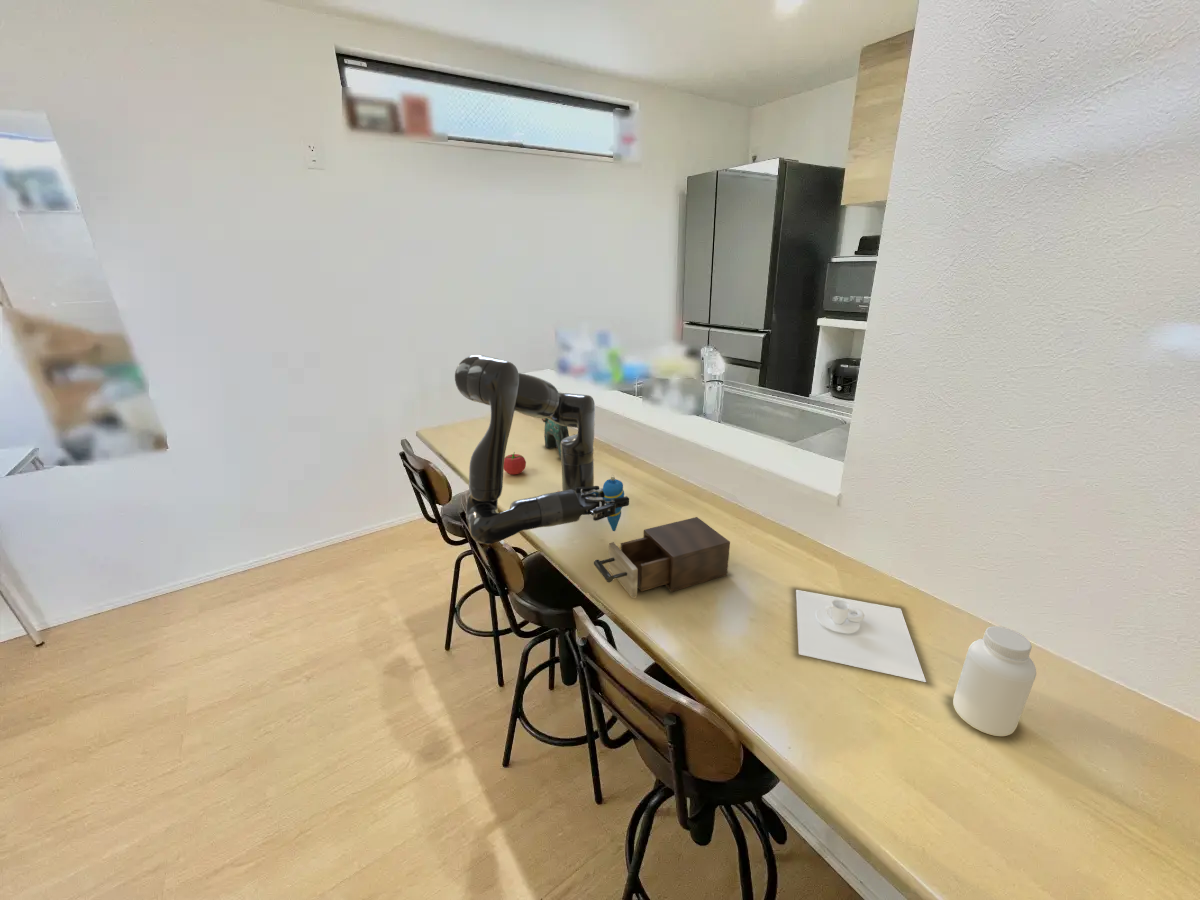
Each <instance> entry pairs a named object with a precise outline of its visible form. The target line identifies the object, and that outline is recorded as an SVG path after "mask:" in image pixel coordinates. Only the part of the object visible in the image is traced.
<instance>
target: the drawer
mask: <svg viewBox="0 0 1200 900" xmlns="http://www.w3.org/2000/svg"><path fill="white" fill-rule="evenodd" d="M604 564H608V569H607V568H606V566H604ZM593 565H594V567H595V568H596V569H597V571H598V572H599V573H600V574H601V576H602V577H603V578H604V580H605V581H606V582H607V583H612V582H613V580H615V579H616V580H617V581H618V583H619V584H620V585H621V586H622V587H623V588H624V590H625V591H626V592H627V594H628V595H629V596H630V597H631V598H632V599H634V598H637V597H638V590H640V591H641V592H644V591H648V590H651V589H654V588H657V587H661V586H665V584H668V583H670V567H671V558H670V557H669V556H668V555H667V554H666V553H664V552H663V551H662V550H661V549H660V548H659V547H658V546H657V545H656V544H655V543H654V542H653V541H652V540H651V539H650V538H649V537H644V536H643V537H640V538H636V539H632V540H628V541H624V542H620V547H619V546H618V545H617V544H616V543H615V542H614V541H612V542H608V558H605V559H603V560H600V559H598V558H597V559H594V561H593ZM608 570H609V571H608ZM610 572H611V573H610Z"/></svg>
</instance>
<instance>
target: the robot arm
mask: <svg viewBox="0 0 1200 900" xmlns="http://www.w3.org/2000/svg"><path fill="white" fill-rule="evenodd" d="M454 382H455V386H456V387H457V390H458V392H459V393H460V394H461V395H462V396H463V397H464V398H465V399H467V400H470V401H471V402H476V403H479V404H483V405H487V406H490V419H489V425H488V427H487V430H486V432H485V433H484V436H483V437H482V438H481V439H480V441H479V443H478V444H477V445H476V447H475V448H474V450H473V452H472V455H471V456H470V461H469V467H468V469H469V470H468V490H469V491H468V494H467V501H466V506H465V507H466V509H465V518H466V519H465V520H466V523H467V528H468V530H469V531H468V532H469V534H470V537H471V538H472V539H473V541H475V542H477V543H479V544H483V545H488V544H489V545H490V544H495V543H500V542H501V541H504V540H506V539H508V538H510V537H513V536H515V535H517V534H519V533H521V532H523V531H528V530H529V531H530V530H533V529H540V528H547V527H548V528H549V527H554V526H555V527H556V526H560V525H565V524H570V523H575V522H578V521H579V520H580V518H581V516H590V515H591V516H592V518H593V519H592V520H593V521H595V522H596V521H599V520H603V519H605V518H607V517H608V516H611V515H614V514H615V509H616V508H619V507H622V508H625V507H628V506H629V505H630V497H628V496H627V495H626V496H624V497H621V498H615V499H605V498H604V496H605V495H604V492H603V487H601V488H600V486H599V485H595V476H594V475H595V474H594V473H595V472H594V465H595V463H594V461H595V460H594V442H595V425H596V423H595V422H596V405H595V400H594V398H593V397H592V396H591V395H589V394H579V393H571V392H570V393H569V392H568V393H567V392H559V391H558V389H557V387H556V386H555V385H553V384H552V383H551V382H549V381H548V380H545V379H543V378H541V377H538V376H535V375H530V374H526V373H521V372H519V370H518V368H517V366H516V364H514V363H513V362H512V361H508V360H505V359H501V358H497V357H492V356H487V355H483V354H473V355H468V356H467V357H465V358H463V359H462V360H461V361H460V362H459V363H458V365H457V366H456V368H455V371H454ZM515 412H516V413H519V414H522V415H525V416H528V417H531V418H534V419H540V420H542V419H545V418H547V419H549V420H551V421H553V422H555V423H557V424H559V425H562V426H567V428H577V433H575V434H572V435H569V436H568V437H566V438H564V439H563V440H562V441H561V460H560V462H561V464H560V465H561V487H562V488H561V489H562V490H559V491H554V492H549V493H543V494H540V495H537V496H532V497H526V498H521V499H517V500H513V501H512V502H511V503H510V506H509V509H506V510H504V511H500V512H499V509H498V506H499V505H498V502H499V498H500V497H501V495H502V493H503V487H504V472H505V470H504V459H505V457H506V451H507V445H508V441H509V436H510V433H511V428H512V424H513V419H514V414H515ZM556 448H557V450H558V445H557V442H556ZM606 503H610V504H607V505H606ZM600 504H601V505H600ZM608 511H609V512H608Z"/></svg>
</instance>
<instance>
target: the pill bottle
mask: <svg viewBox="0 0 1200 900" xmlns="http://www.w3.org/2000/svg"><path fill="white" fill-rule="evenodd" d="M1032 647H1033V646H1032V643H1031V642H1030V640H1029V639H1028V638H1027V637H1026V636H1024V635H1023V634H1021V633H1020V632H1018V631H1016V630H1013V629H1011V628H1009V627H1005V626H998V625H992V626H988V627H987V628H986V629H985V630H984V634H983V638H978V639H976V640H974V641H973V642H972V643H971V644H970V645H969V647H968V650H967V651H966V656H965V659H964V662H963V665H962V669H961V672H960V674H959V678H958V681H957V685H956V688H955V690H954V691H955V692H954V695H953V700H952V704H953V708H954V710H955V712H956V714H957V715H958V716H959V717H960V718H961V720H963V721H964V722H965V723H966V724H968V725H969V726H970V727H972V728H973V729H976V730H977V731H980V732H982V733H984V734H987V735H990V736H994V737H1006V736H1010V735H1012V734H1013V733H1014V732H1015V731H1016V729H1017V727H1018V724H1019V722H1020V719H1021V716H1022V714H1023V711H1024V709H1025V706H1026V704H1027V700H1028V699H1029V696H1030V693H1031V690H1032V688H1033V685H1034V682H1035V680H1036V678H1037V677H1036V676H1037V668H1036V664H1035V663H1034V661H1033V659H1032V658H1031V657H1030V655H1031V654H1030V653H1031V651H1032V649H1033V648H1032Z"/></svg>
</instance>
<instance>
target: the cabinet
mask: <svg viewBox="0 0 1200 900" xmlns="http://www.w3.org/2000/svg"><path fill="white" fill-rule="evenodd" d="M644 537H649V538H650V539H651V540H652V541H653V542H654V543H655V544H656V545H657V546H658V547H659V548H660V549H661V550H662V551H663V552H664V553H666V554H667V555H668V556H669V557H670V558H671V567H670V583H668V584H665V585H664V586H665V587H666V588H667V589H668V590H669V591H670V593H673V592H677V591H679V590H682V589H686V588H689V587H693V586H695V585H699V584H702V583H705V582H709V581H712V580H716V579H719V578H722V577H726V576H728V567H729V559H730V557H729V556H730V548H731V547H730V546H731V541H730V540H728V539H727V538H726V537H725V536H724V535H722V534H720V533H719V532H718V531H717V530H715V529H713V528H712V527H711V526H710V525H708V524H707V523H706V522H705V521H704V520H703V519H701V518H699V517H698V516H695V517H691V518H685V519H682V520H679V521H674V522H670V523H665V524H661V525H658V526H653V527H649V528H645V529H643V538H644Z"/></svg>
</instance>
